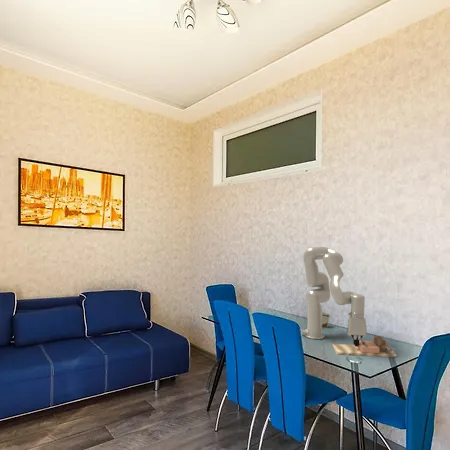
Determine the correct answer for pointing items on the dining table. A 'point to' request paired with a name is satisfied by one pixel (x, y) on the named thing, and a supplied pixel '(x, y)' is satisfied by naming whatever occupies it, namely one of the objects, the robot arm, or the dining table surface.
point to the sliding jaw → (368, 347)
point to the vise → (354, 350)
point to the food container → (325, 320)
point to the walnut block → (380, 343)
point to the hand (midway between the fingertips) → (356, 345)
